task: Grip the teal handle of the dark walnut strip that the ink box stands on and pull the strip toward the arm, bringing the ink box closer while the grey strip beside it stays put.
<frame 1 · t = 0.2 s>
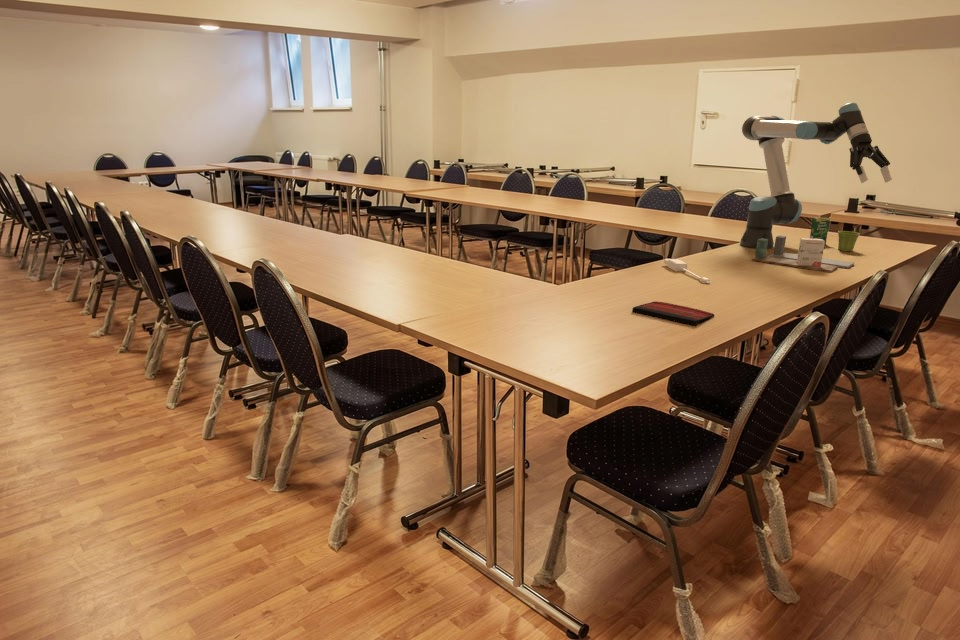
hand: (876, 181, 276), 36 cm above the table, fingers open, 13 cm apart
walnut strip: (795, 254, 282), point 5 cm above the table, slide at 3.4 cm, touching ink box
coffee box: (816, 244, 334), on the table
grey strip: (812, 250, 291), point 5 cm above the table, slide at 0.0 cm
ink box: (808, 267, 280), resting on walnut strip
plant pot: (845, 250, 318), on the table
charging cable: (686, 274, 262), on the table
binder: (673, 316, 208), on the table
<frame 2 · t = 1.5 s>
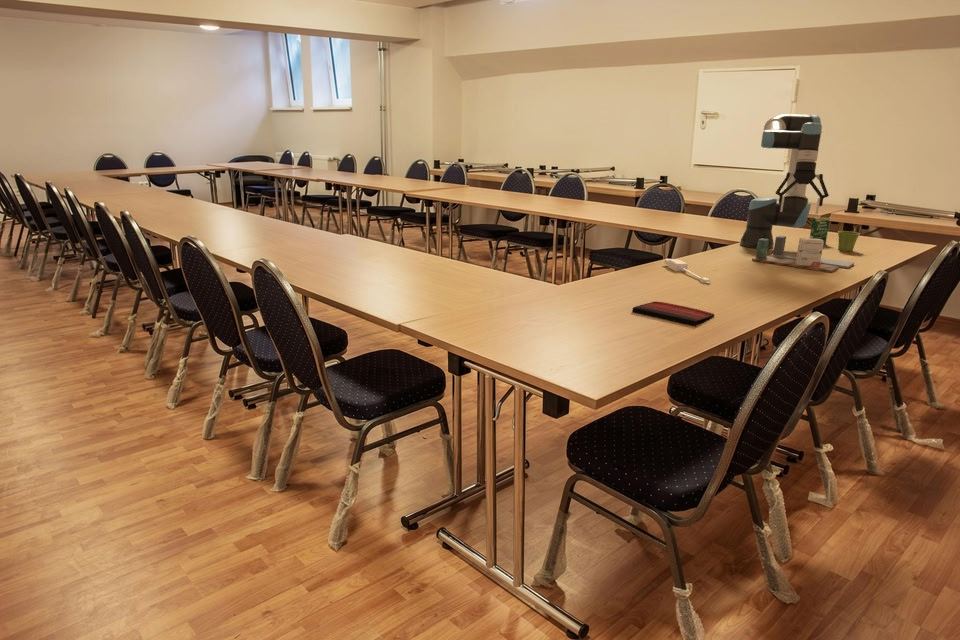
hand: (798, 213, 280), 22 cm above the table, fingers open, 13 cm apart
walnut strip: (795, 254, 282), point 5 cm above the table, slide at 3.1 cm, touching ink box
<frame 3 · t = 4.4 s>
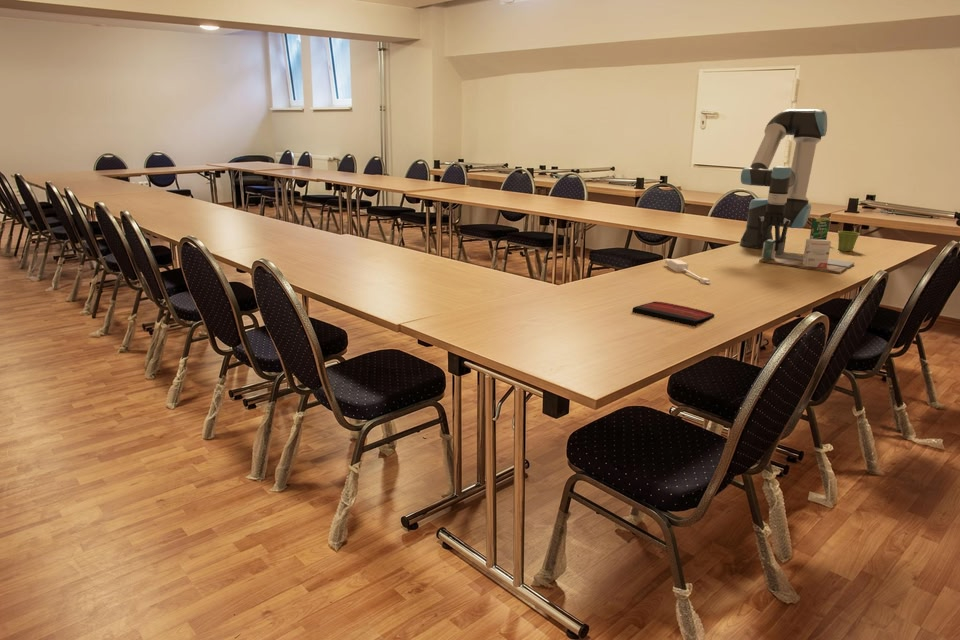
hand: (768, 257, 290), 2 cm above the table, fingers open, 3 cm apart
walnut strip: (803, 255, 280), point 5 cm above the table, slide at 0.0 cm, touching gripper, ink box
ink box: (814, 268, 278), resting on walnut strip
everything else where it was.
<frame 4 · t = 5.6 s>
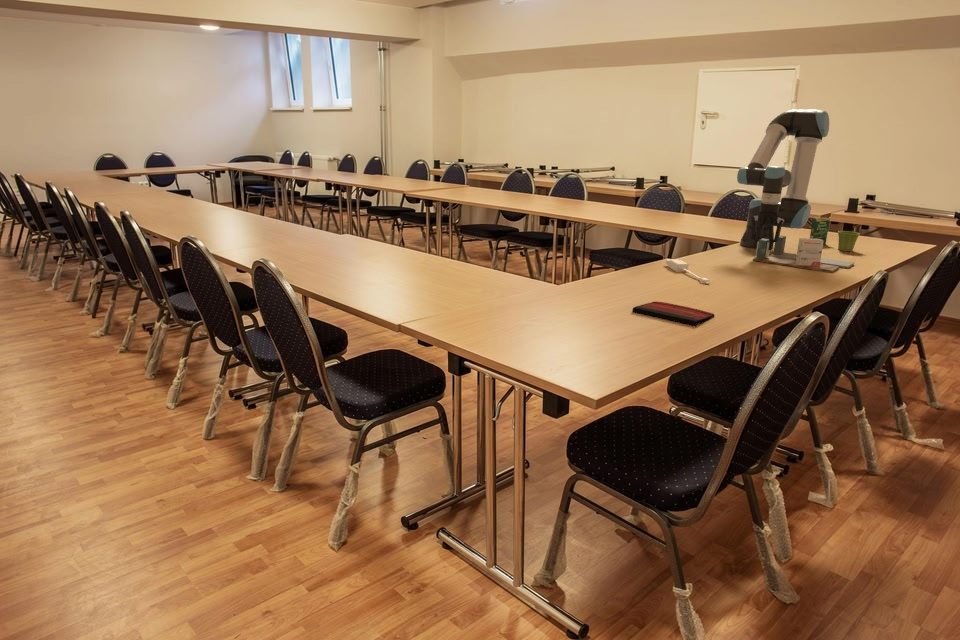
hand: (762, 256, 292), 1 cm above the table, fingers open, 3 cm apart
walnut strip: (796, 254, 282), point 5 cm above the table, slide at 2.8 cm, touching ink box
ink box: (807, 267, 280), resting on walnut strip
everything else where it was.
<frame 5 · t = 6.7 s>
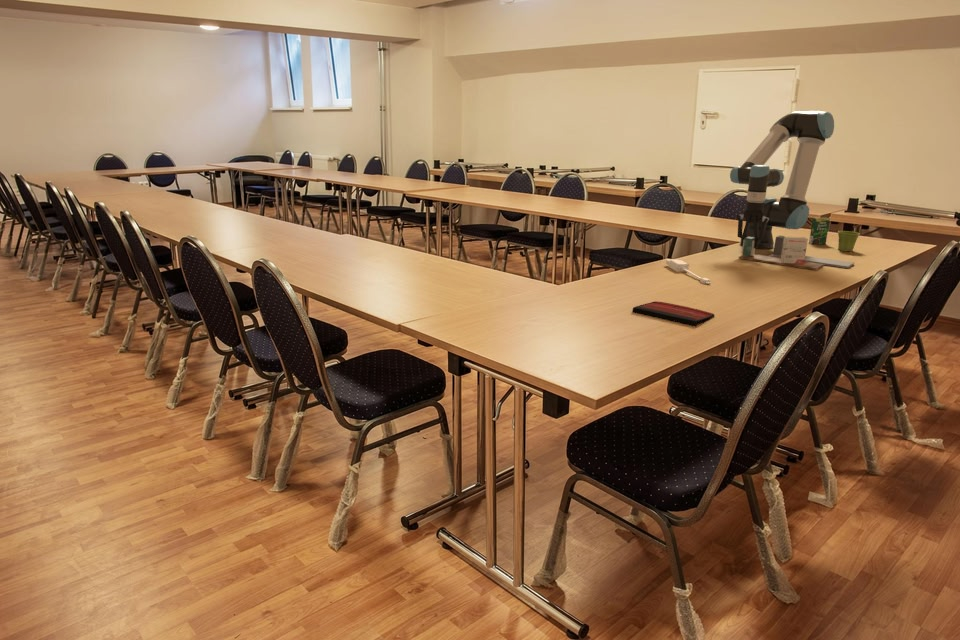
hand: (747, 254, 295), 1 cm above the table, fingers open, 3 cm apart
walnut strip: (781, 252, 286), point 5 cm above the table, slide at 9.0 cm, touching gripper, ink box
ink box: (791, 264, 284), resting on walnut strip
everything else where it was.
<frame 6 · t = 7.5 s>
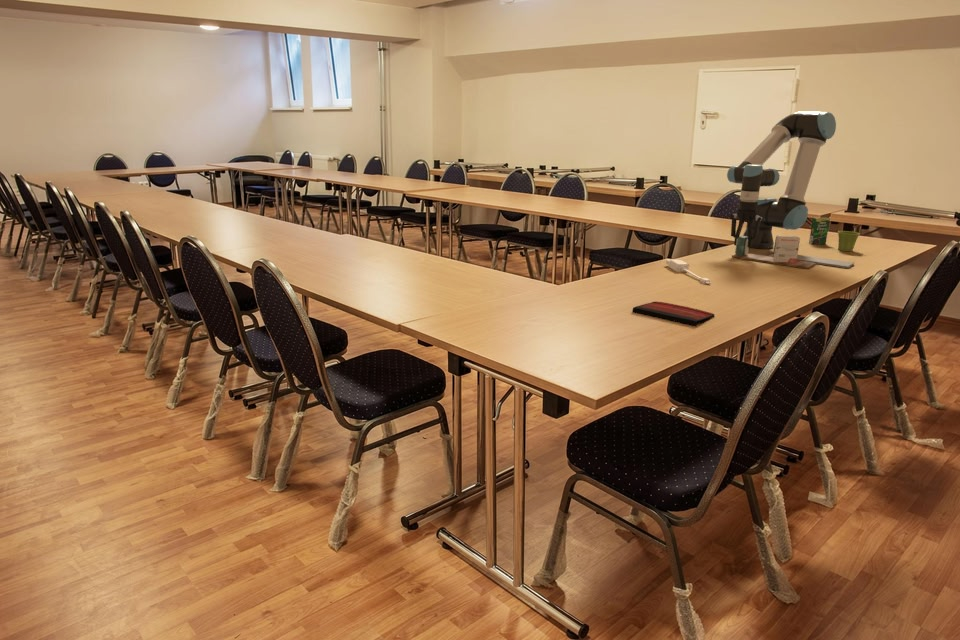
hand: (741, 253, 297), 2 cm above the table, fingers open, 3 cm apart
walnut strip: (774, 251, 288), point 5 cm above the table, slide at 12.0 cm, touching gripper, ink box
ink box: (784, 263, 286), resting on walnut strip
everything else where it was.
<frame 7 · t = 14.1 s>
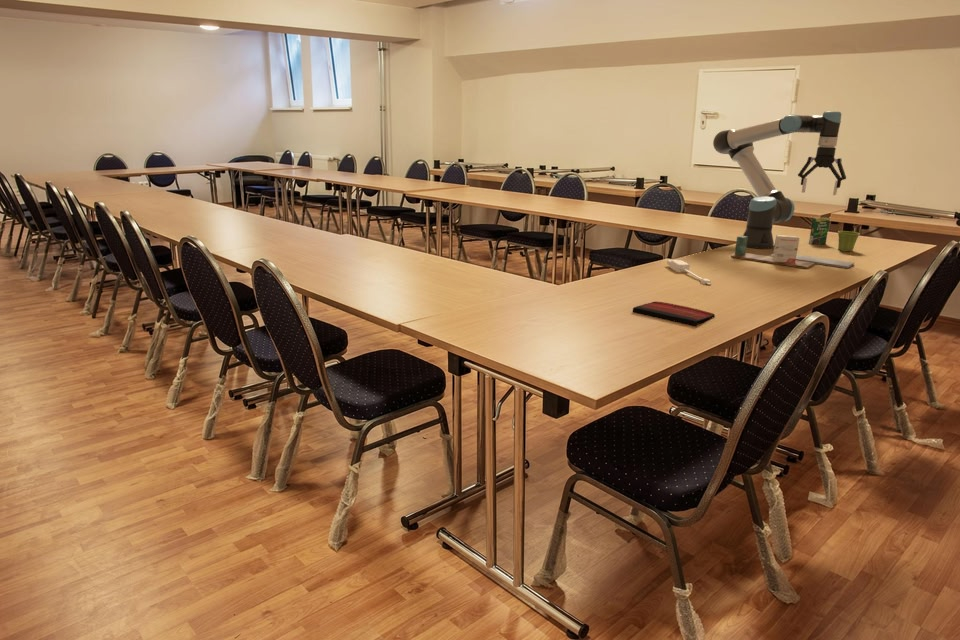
hand: (818, 193, 309), 27 cm above the table, fingers open, 13 cm apart
walnut strip: (773, 250, 288), point 5 cm above the table, slide at 12.2 cm, touching ink box
at the end: ink box inside the target area (0.9 cm from its centre), resting on walnut strip; ink box tilted 1°; grey strip slide at 0.0 cm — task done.
